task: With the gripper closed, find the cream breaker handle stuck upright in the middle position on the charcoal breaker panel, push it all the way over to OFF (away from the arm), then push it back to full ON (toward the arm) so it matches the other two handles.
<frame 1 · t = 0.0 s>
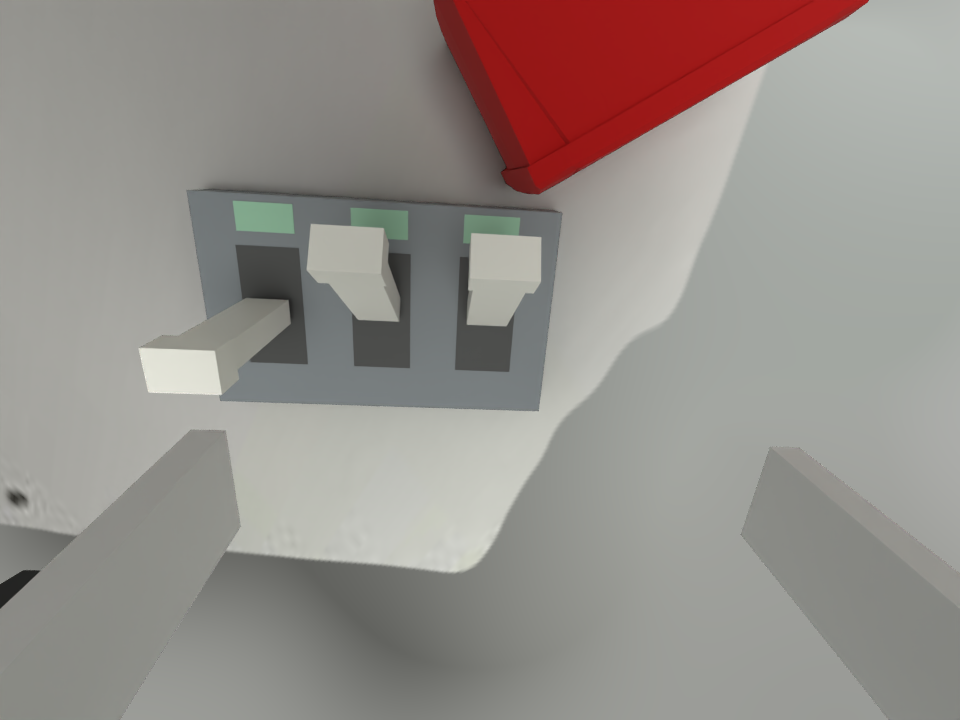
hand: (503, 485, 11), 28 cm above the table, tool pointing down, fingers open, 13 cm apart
tripped handle: (233, 335, 28), point 10 cm above the table, hinge at 0.0°
breaker panel: (386, 302, 38), on the table
handle C: (494, 291, 29), point 9 cm above the table, hinge at -30.0°
fire alarm: (576, 62, 33), on the table
handle B: (365, 284, 29), point 9 cm above the table, hinge at -30.0°
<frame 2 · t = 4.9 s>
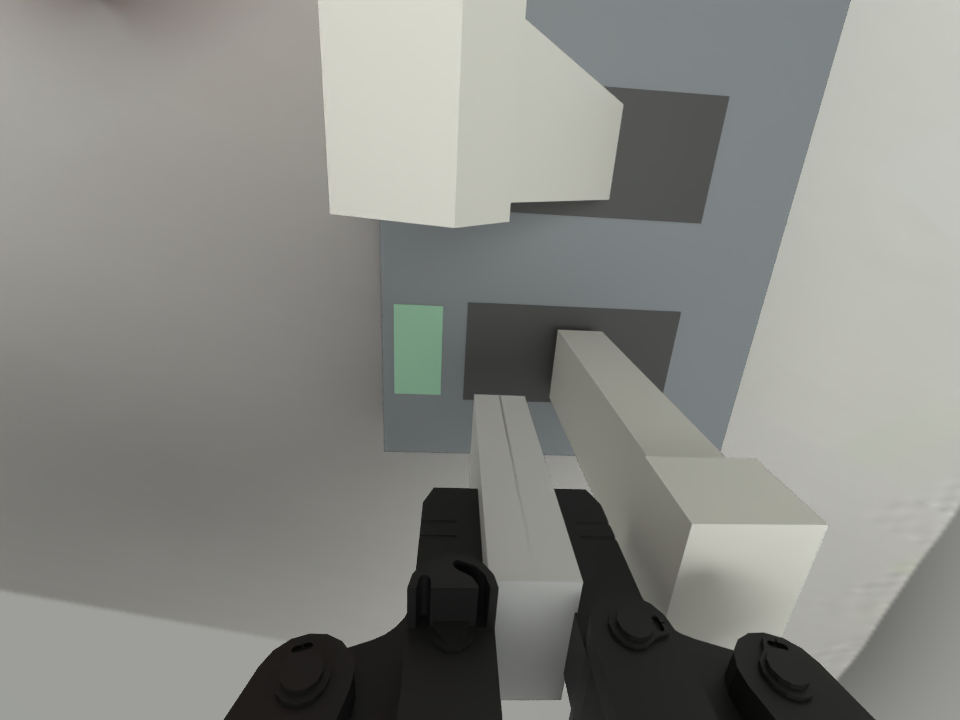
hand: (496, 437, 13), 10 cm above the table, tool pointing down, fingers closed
tripped handle: (623, 438, 14), point 10 cm above the table, hinge at 0.4°, touching gripper
breaker panel: (577, 158, 20), on the table
handle B: (531, 134, 11), point 9 cm above the table, hinge at -30.0°
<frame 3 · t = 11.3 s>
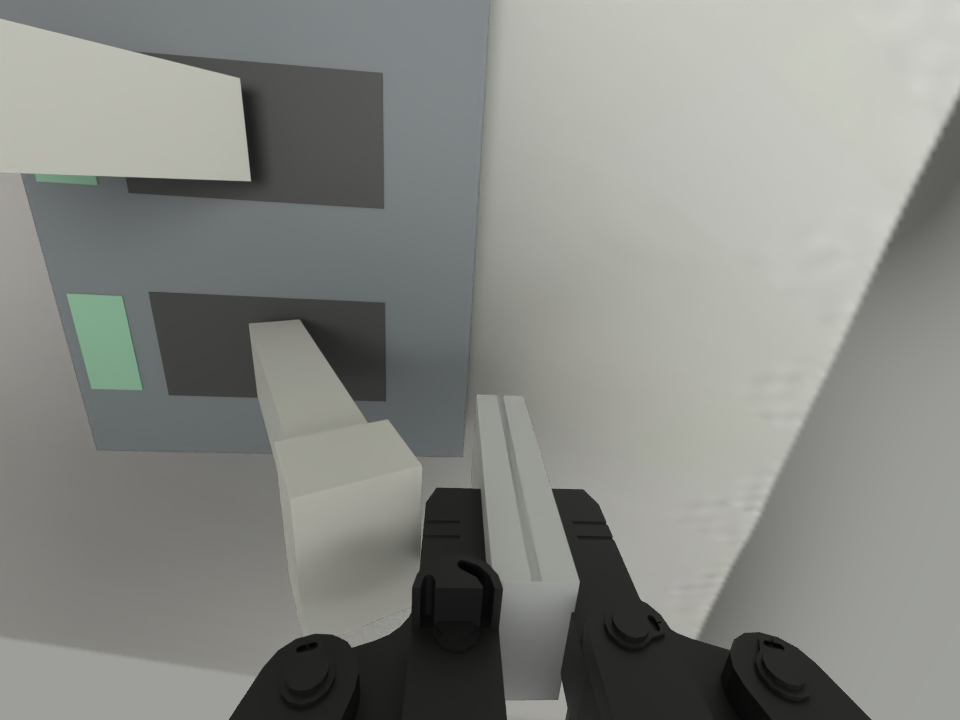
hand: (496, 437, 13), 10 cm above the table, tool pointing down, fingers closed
tripped handle: (306, 424, 14), point 9 cm above the table, hinge at 26.0°, touching gripper
breaker panel: (281, 141, 19), on the table
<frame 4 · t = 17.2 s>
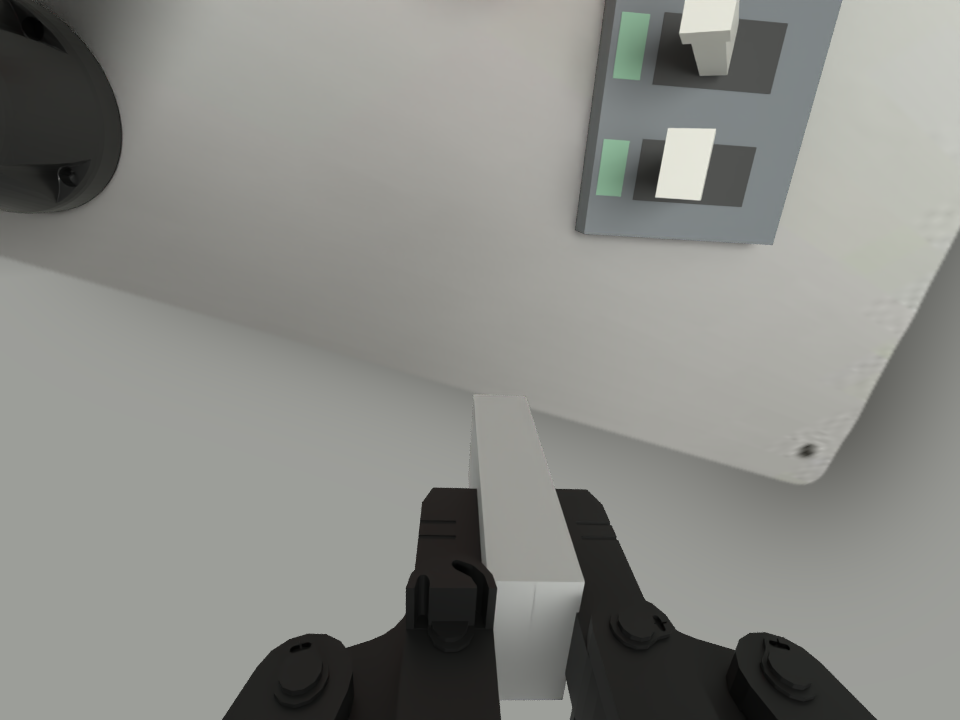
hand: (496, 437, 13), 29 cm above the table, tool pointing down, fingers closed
tripped handle: (689, 169, 30), point 9 cm above the table, hinge at -28.5°
breaker panel: (698, 64, 36), on the table
handle B: (716, 25, 28), point 9 cm above the table, hinge at -30.0°
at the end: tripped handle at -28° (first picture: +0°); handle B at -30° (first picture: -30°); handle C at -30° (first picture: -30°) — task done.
